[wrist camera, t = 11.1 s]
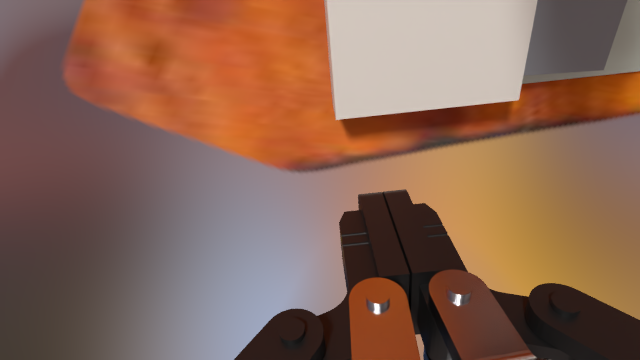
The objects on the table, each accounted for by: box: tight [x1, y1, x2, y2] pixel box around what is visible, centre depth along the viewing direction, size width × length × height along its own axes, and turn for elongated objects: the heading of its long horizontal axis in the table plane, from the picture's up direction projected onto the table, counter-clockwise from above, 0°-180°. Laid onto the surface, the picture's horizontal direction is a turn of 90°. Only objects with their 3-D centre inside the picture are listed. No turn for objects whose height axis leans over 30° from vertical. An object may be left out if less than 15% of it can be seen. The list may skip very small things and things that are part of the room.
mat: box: [522, 0, 640, 84], centre depth 33 cm, size 16×12×1 cm
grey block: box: [523, 0, 627, 76], centre depth 32 cm, size 8×8×2 cm
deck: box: [324, 0, 538, 120], centre depth 31 cm, size 16×12×4 cm
